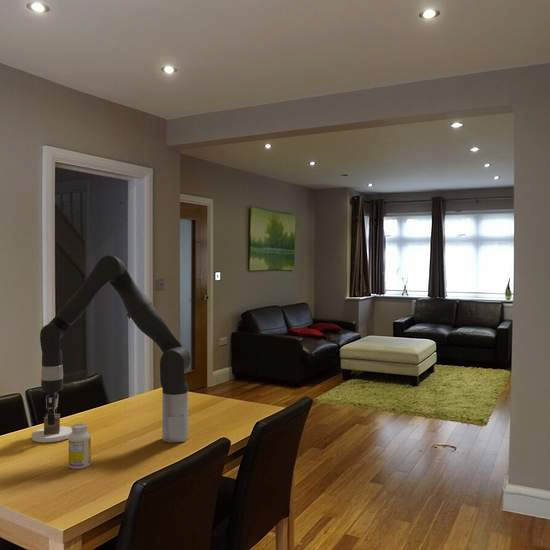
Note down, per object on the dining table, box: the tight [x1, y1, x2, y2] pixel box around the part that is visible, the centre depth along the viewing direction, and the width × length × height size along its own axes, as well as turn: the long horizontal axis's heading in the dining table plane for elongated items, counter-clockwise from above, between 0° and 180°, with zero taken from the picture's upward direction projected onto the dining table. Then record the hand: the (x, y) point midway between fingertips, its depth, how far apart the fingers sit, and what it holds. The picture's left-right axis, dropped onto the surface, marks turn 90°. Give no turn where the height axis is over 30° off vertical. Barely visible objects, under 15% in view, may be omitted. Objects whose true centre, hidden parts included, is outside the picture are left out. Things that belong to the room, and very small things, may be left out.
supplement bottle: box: [67, 422, 92, 470], centre depth 169 cm, size 7×7×13 cm
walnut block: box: [43, 413, 61, 435], centre depth 196 cm, size 5×5×6 cm
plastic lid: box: [31, 425, 72, 443], centre depth 197 cm, size 14×14×2 cm
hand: (52, 421), depth 196 cm, fingers open, 8 cm apart
